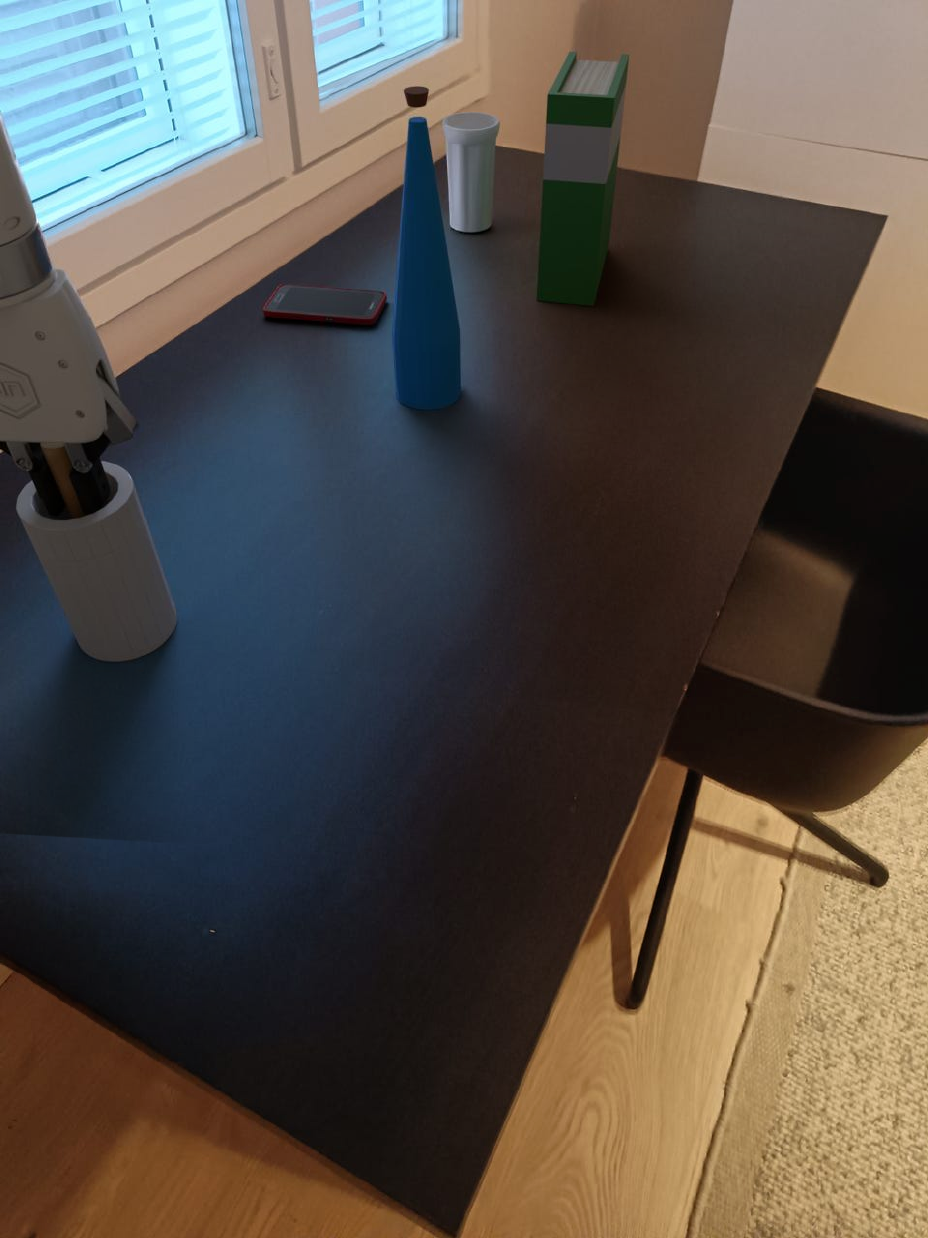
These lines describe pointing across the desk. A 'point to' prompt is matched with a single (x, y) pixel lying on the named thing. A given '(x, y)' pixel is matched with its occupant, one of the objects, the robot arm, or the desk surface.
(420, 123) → the bottle
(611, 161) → the hardback book
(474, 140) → the cup
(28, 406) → the robot arm
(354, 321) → the cell phone
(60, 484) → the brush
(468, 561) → the desk surface
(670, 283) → the desk surface
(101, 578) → the grey hollow tube
